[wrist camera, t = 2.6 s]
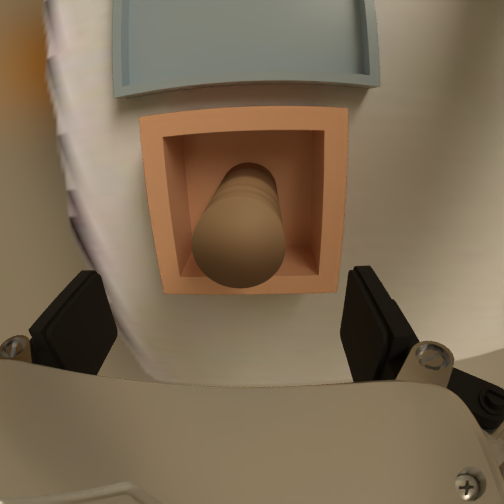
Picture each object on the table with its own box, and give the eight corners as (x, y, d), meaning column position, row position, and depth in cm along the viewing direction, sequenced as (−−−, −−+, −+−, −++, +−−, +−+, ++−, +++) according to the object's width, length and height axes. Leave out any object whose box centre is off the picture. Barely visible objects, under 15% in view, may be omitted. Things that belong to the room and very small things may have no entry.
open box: (166, 114, 23) (138, 117, 17) (328, 108, 22) (348, 108, 17) (182, 258, 28) (164, 293, 23) (323, 256, 28) (337, 292, 22)
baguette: (219, 163, 23) (186, 204, 14) (276, 161, 23) (285, 201, 13) (223, 216, 25) (197, 288, 15) (276, 215, 25) (285, 287, 15)
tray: (128, -36, 16) (117, -45, 14) (356, -49, 15) (364, -60, 13) (126, 98, 22) (113, 98, 20) (369, 88, 21) (380, 86, 19)
